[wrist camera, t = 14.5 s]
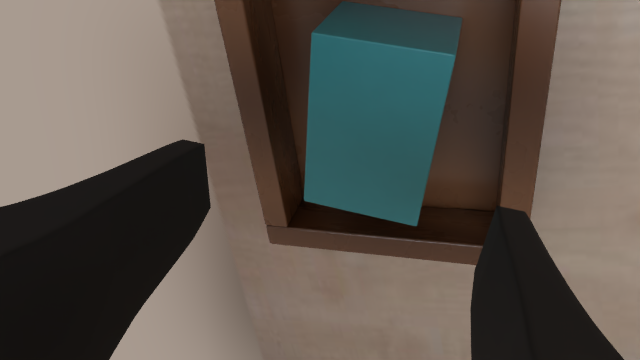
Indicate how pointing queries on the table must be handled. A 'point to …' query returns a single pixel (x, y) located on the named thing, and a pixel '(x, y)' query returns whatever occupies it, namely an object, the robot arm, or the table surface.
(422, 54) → the teal rectangular block
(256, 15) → the holder
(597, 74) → the table surface
